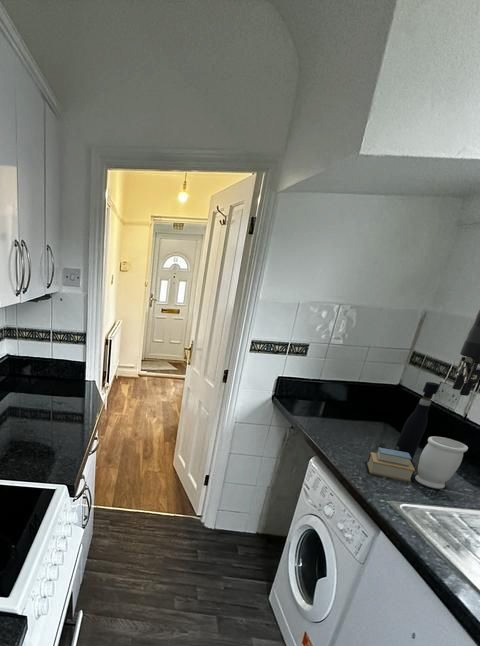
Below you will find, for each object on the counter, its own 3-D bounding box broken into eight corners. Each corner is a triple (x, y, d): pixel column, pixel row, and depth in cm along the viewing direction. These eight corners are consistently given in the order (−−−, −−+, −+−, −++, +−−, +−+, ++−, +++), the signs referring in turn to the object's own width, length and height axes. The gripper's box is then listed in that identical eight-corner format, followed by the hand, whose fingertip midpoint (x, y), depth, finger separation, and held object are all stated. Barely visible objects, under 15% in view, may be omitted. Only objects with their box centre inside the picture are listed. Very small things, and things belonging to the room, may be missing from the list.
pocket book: (405, 460, 145) (408, 452, 144) (408, 466, 140) (411, 458, 139) (375, 454, 149) (378, 447, 147) (377, 460, 144) (380, 452, 143)
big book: (405, 470, 148) (409, 459, 146) (410, 481, 140) (415, 470, 138) (366, 462, 153) (370, 451, 151) (369, 473, 145) (373, 461, 143)
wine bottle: (413, 461, 156) (447, 385, 143) (406, 465, 152) (440, 387, 140) (395, 455, 160) (426, 380, 148) (387, 458, 157) (418, 382, 144)
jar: (453, 493, 134) (474, 452, 127) (416, 486, 137) (435, 445, 130) (441, 479, 143) (460, 439, 137) (406, 472, 146) (423, 433, 140)
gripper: (505, 345, 120) (481, 399, 126) (488, 339, 132) (467, 389, 138) (473, 342, 123) (451, 395, 129) (459, 337, 135) (440, 385, 141)
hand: (459, 392), depth 134 cm, fingers open, 8 cm apart
